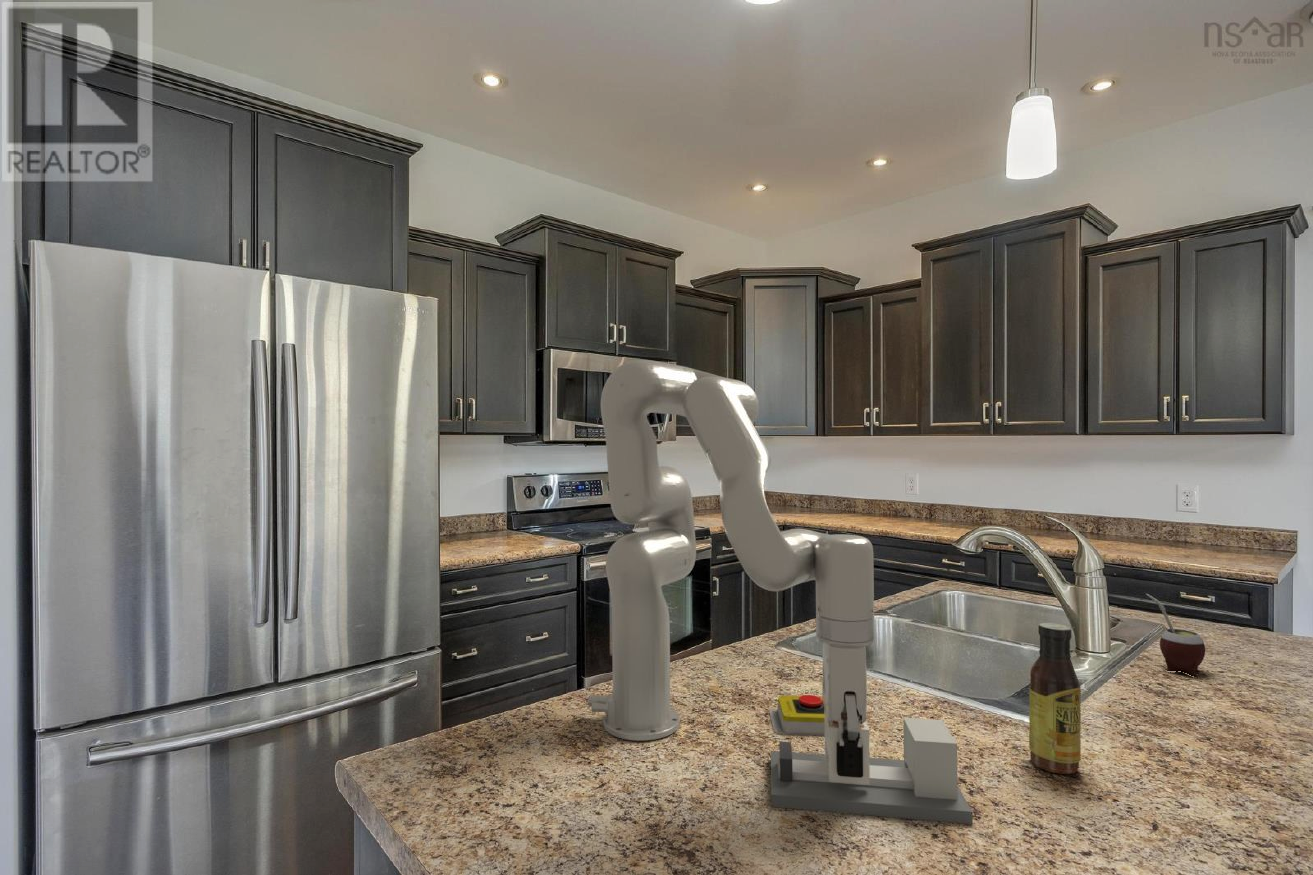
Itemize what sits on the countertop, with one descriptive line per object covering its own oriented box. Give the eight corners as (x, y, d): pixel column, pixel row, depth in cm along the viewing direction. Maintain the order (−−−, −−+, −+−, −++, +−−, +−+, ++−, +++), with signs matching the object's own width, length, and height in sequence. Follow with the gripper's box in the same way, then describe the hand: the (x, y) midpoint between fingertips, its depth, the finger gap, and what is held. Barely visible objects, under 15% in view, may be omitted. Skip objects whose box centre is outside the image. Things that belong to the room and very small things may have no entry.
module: (829, 781, 83) (828, 725, 83) (824, 756, 90) (824, 704, 90) (869, 785, 82) (869, 728, 82) (861, 758, 89) (861, 706, 89)
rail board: (771, 806, 82) (770, 739, 82) (770, 761, 94) (770, 702, 94) (972, 824, 78) (971, 753, 78) (945, 774, 90) (944, 713, 90)
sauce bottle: (1063, 781, 87) (1061, 635, 88) (1019, 761, 93) (1017, 623, 93) (1091, 770, 90) (1089, 628, 91) (1047, 751, 96) (1045, 618, 96)
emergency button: (768, 687, 112) (856, 689, 111) (768, 713, 112) (856, 715, 111) (774, 709, 103) (870, 711, 101) (774, 737, 102) (870, 739, 101)
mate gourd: (1215, 678, 125) (1213, 601, 125) (1174, 678, 125) (1173, 601, 125) (1184, 665, 133) (1183, 592, 133) (1145, 665, 133) (1144, 592, 133)
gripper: (811, 610, 96) (813, 731, 95) (821, 646, 78) (822, 793, 78) (864, 612, 94) (865, 734, 94) (885, 649, 77) (887, 798, 77)
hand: (846, 760), depth 86 cm, fingers closed on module, 7 cm apart
